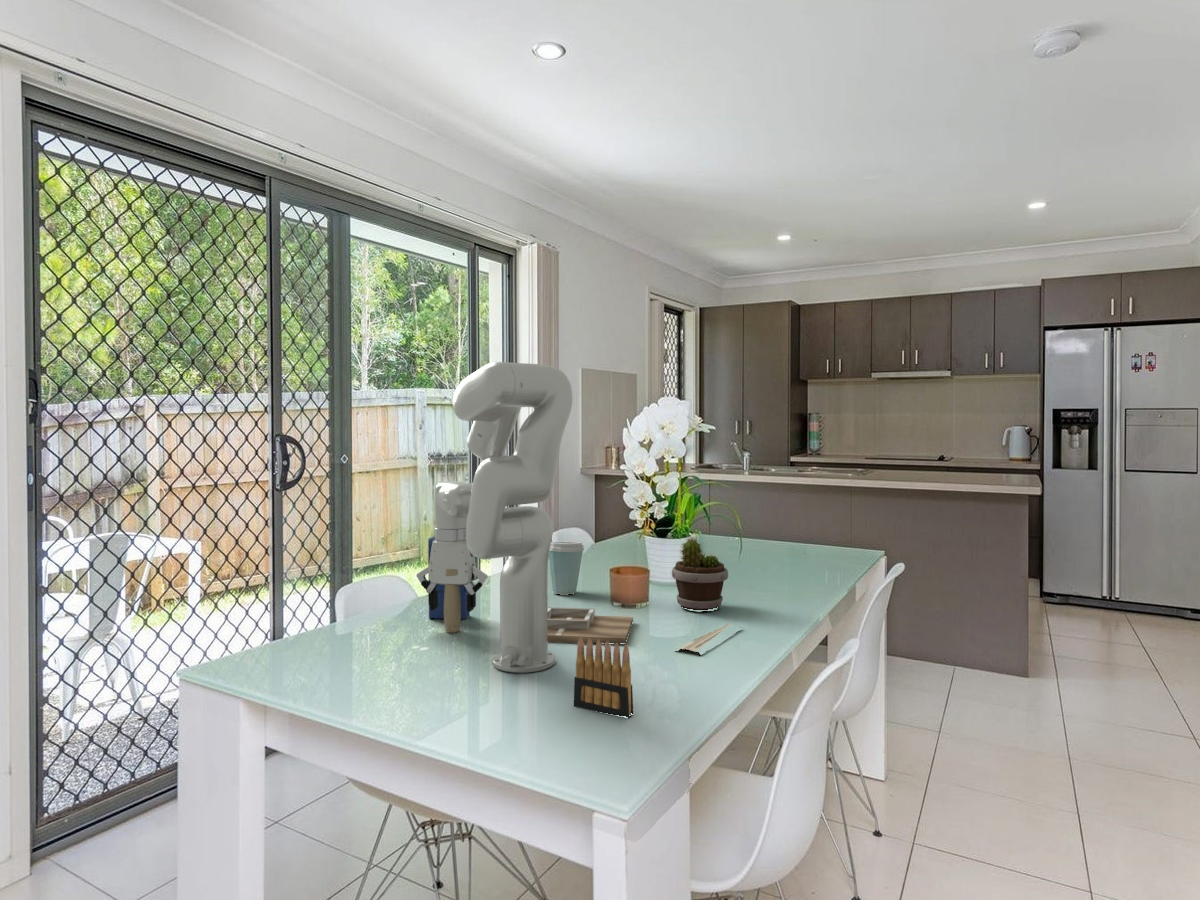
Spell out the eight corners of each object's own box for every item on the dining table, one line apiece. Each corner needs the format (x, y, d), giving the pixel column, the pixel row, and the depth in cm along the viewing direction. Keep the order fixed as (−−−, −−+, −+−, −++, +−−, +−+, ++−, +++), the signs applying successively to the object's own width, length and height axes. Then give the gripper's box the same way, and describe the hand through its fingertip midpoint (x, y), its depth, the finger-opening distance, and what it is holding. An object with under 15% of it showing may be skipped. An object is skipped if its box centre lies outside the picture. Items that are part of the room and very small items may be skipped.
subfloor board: (625, 645, 159) (625, 629, 159) (527, 640, 162) (527, 625, 162) (632, 623, 177) (632, 608, 177) (544, 619, 180) (544, 605, 180)
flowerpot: (699, 598, 202) (699, 526, 201) (740, 609, 189) (740, 533, 189) (659, 606, 193) (659, 531, 192) (699, 618, 181) (700, 538, 180)
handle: (449, 627, 173) (448, 564, 173) (469, 630, 170) (469, 567, 169) (434, 631, 169) (434, 567, 168) (455, 636, 166) (455, 570, 165)
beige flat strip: (700, 660, 151) (700, 651, 151) (669, 654, 155) (669, 646, 155) (742, 632, 171) (742, 625, 171) (714, 628, 175) (714, 620, 175)
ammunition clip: (633, 715, 120) (633, 643, 120) (628, 719, 119) (628, 646, 118) (579, 702, 126) (578, 634, 125) (573, 706, 124) (573, 636, 124)
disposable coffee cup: (543, 590, 212) (543, 539, 211) (578, 588, 215) (578, 537, 215) (551, 598, 202) (551, 544, 201) (589, 595, 205) (589, 543, 204)
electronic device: (470, 615, 184) (470, 536, 183) (464, 620, 179) (464, 539, 178) (434, 614, 185) (433, 535, 184) (427, 619, 180) (427, 539, 179)
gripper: (492, 533, 171) (492, 607, 172) (422, 532, 174) (422, 604, 174) (483, 538, 164) (483, 615, 164) (409, 536, 166) (410, 612, 167)
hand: (452, 609), depth 169 cm, fingers open, 8 cm apart
